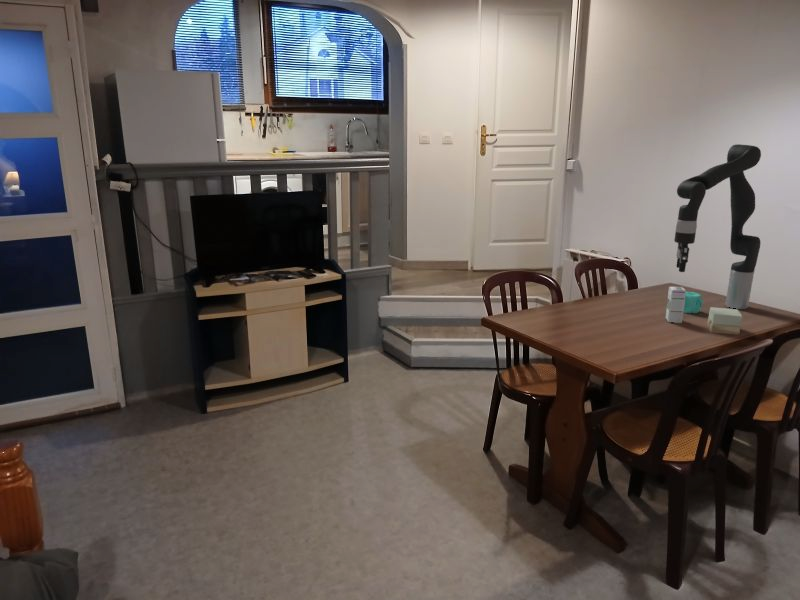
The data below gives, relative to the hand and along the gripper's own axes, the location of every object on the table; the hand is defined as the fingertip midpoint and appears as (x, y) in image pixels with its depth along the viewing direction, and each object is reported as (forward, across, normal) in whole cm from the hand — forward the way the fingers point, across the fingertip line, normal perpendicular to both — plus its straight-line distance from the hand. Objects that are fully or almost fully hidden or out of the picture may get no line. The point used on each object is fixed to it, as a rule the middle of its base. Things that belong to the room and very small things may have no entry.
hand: (680, 269), depth 243 cm
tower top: (+19, -6, -18) cm, 27 cm away
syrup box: (+23, 0, 0) cm, 23 cm away
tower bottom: (+23, -6, -18) cm, 30 cm away
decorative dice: (+23, +18, -8) cm, 30 cm away
